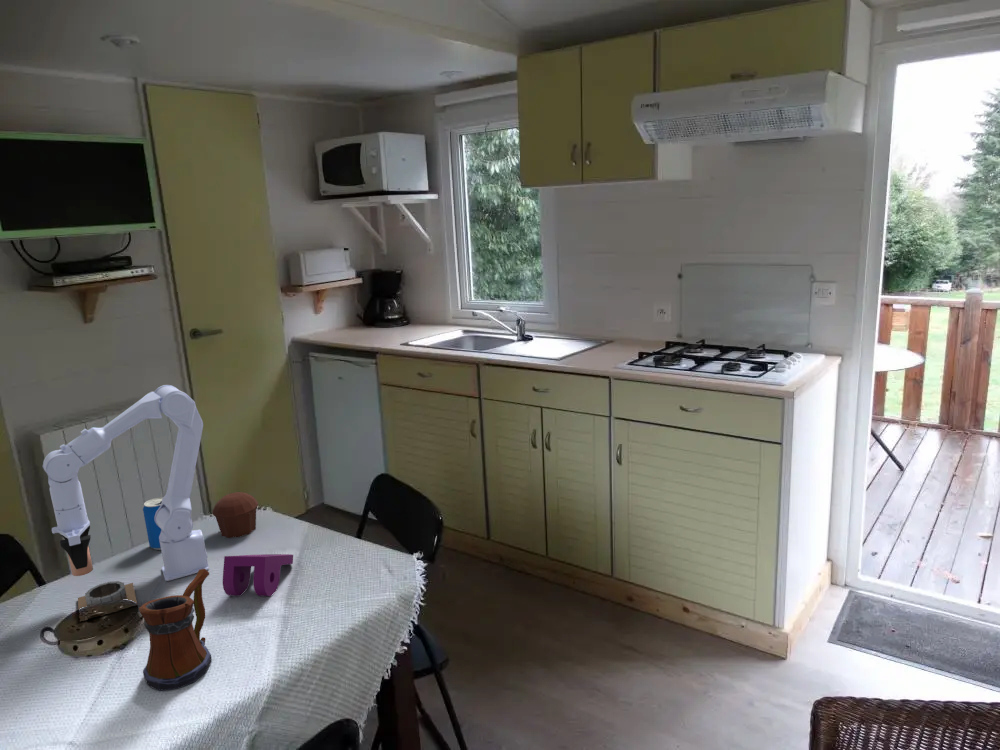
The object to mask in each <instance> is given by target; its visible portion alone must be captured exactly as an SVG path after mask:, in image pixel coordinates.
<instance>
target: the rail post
mask: <svg viewBox="0 0 1000 750" xmlns="http://www.w3.org/2000/svg"><path fill="white" fill-rule="evenodd" d="M90 552H91V551H90V548H89V546H88V551H87V556H88V564H87V567H84V568H80V569H76V568H75V566H74V564H73V562H72V560H71V558H70V556H69V555H68V554H67V555H68V560H69V566H70V571H71V573H72V574H71V575H72V576H74V577H80V576H85V575H87V574H90V573H91V572H93V570H94V566H93V561H92V557H91V553H90Z"/></svg>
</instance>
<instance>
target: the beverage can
mask: <svg viewBox="0 0 1000 750" xmlns="http://www.w3.org/2000/svg"><path fill="white" fill-rule="evenodd" d="M163 497H164V496H163ZM163 497H154V498H151V499H149V500H146V501H145V502H144V503H143V507H142V511H143V517H144V523H145V529H146V535H147V540H148V544H149V548H151V549H154V550H157V551H158V550H159V551H161V546H160V541H159V536H160V533H161V528H160V527H158V526H157V525H156V523H155V514H156V512H157V510H158V509H159V507H160V506H161V503H162V499H163Z"/></svg>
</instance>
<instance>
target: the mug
mask: <svg viewBox="0 0 1000 750" xmlns="http://www.w3.org/2000/svg"><path fill="white" fill-rule="evenodd" d="M209 575H210V572H209V570H206V569H201V570H199V571H198V573H196V576H195V577H194V578H193V579H192V581H191V582H189V584H188V585H187V586H186V588H185V590H184V591H183V594H181V595H180V594H177V595H170V596H164V597H159V598H156V599H152V600H149V601H147V602H145V603H144V604H141V606H140V607H138V610H139V614H140V615H141V616H142V618H143V619H144V623H143V626H144V628H145V629H146V630H147V632H148V633H149V635H148V636H149V652H148V658H147V661H146V665H145V667H144V668H143V670H142V674H143V675H142V676H143V677H144V680H145V682H146V684H147V686H149V688H152V689H154V690H157V691H159V692H163V691H171V690H177V689H180V688H183V687H185V686H188V685H191V684H193V683H195V682H196V681H198V679H200V678H201V677H202V676H204V675H205V674H206V673H207V671H208V669H210V668H209V667H210V666H211V664H212V660H213V659H212V654H211V653H210V651H209V649H208V647H207V646H205V645H206V637H201V636H200V635H201V631H202V628H203V626H204V622H205V619H206V607H205V604H204V600H203V584H204V582H205V581H206V579H207V577H209ZM192 594H193V599H192V598H191V596H192ZM194 613H195V616H194ZM195 617H196V618H195ZM194 619H195V625H194V624H193V622H194ZM200 637H201V638H200Z"/></svg>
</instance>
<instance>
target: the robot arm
mask: <svg viewBox="0 0 1000 750" xmlns="http://www.w3.org/2000/svg"><path fill="white" fill-rule="evenodd" d="M162 414H163V415H165V416H166V417H167V418H169V419H170V420H171V421H172V422H173V423H174V425H175V426H177V428H178V430H177V435H176V439H175V440H176V441H175V445H174V446H175V447H174V451H173V456H172V457H173V458H172V460H171V462H172V463H171V468H170V474H169V478H168V484H167V489H166V494H165V495H163V499H162V503H161V506H160V507H159V509H158V510H157V512H156V514H155V523H156V525H157V526H158V527H160V528H161V533H160V536H159V541H160V546H161V550H160V553H161V557H162V563H163V566H161V571H162V574H163V577H164V580H165V582H170V581H174V580H177V579H181V578H184V577H188V576H190V575H194V574H197V573H198V571H199V570H201V569H206V570H207V571H209V569H210V567H209V562H208V553H207V550H206V545H205V539H204V535H203V532H202V529H194V530H193V528H194V522H193V520H192V503H191V499H190V498H191V493H192V488H193V482H194V479H195V478H194V476H195V472H196V465H197V462H198V461H197V460H198V455H199V451H200V445H201V441H202V435H203V429H204V421H203V419H202V416H201V415H200V412H199V410H198V408H197V406H196V402H195V400H194V399H192V398H191V397H190V396H189V395H188V393H186V392H184V391H181V390H180V389H178V388H177V387H176V386H174V385H170V384H163V385H161V386H159V387H156V389H155V390H154V391H152V390H151V391H150V392H148V393H146V394H145V395H144V396H143V397H142V398H140V399H138V401H136V402H135V403H134V404H132V405H131V406H128V408H127V409H126V410H124V411H123V412H121V413H120V414H119V415H117V416H116V417H115V418H113V419H112V420H110V421H109V422H108V423H106V424H105V425H103V426H102V427H90V428H89V429H87V428H83V430H80V435H79V436H77V437H75V438H74V439H73V440H71V441H69V442H68V443H67V444H65V443H64V444H61V445H60V446H59V448H60V449H56V450H52V451H50V452H49V453H48V454H46V455H45V458H44V459H43V464H42V469H43V471H44V472H45V473H46V475H47V478H48V479H47V480H48V481H47V482H48V485H49V493H50V498H51V502H52V507H53V512H54V516H55V521H56V524H57V525H56V526H54V527H51V533H52V534H59V535H60V536H61V537H62V538H63V539H61V540H60V541H59V545H60V547H61V549H63V550H64V551H65V552H66V553H67V555H69V556H70V558H71V560H72V562H73V564H74V566H75V568H76V569H80V568H84V567H87V564H88V556H87V551H88V547H89V544H90V542H91V538H92V537H91V536H92V535H91V534H89V532H90V529H91V522H90V520H89V518H88V514H87V512H88V511H87V508H86V507H87V506H86V504H85V499H84V494H83V493H84V492H83V489H82V484H81V482H80V481H79V476H78V473H79V471H80V468H83V467H85V466H86V465H88V464H89V463H90V462H92V461H93V460H95V459H96V458H98V457H100V455H102V454H104V453H105V452H107V451H108V450H110V448H111V447H112V445H111V444H112V441H113V440H114V439H116V438H117V437H119V436H120V435H122V434H124V433H125V432H127V431H128V430H129V429H132V428H133V427H135V426H136V425H138V424H140V423H142V421H144V420H148V419H157V420H158V419H163V416H162Z"/></svg>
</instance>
